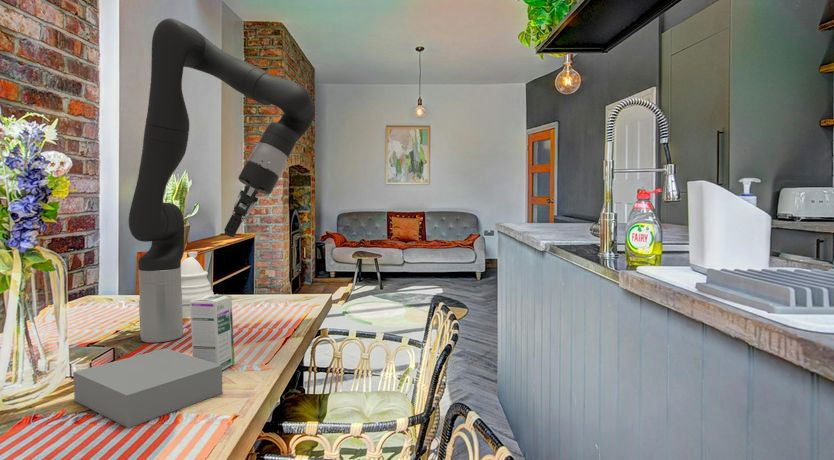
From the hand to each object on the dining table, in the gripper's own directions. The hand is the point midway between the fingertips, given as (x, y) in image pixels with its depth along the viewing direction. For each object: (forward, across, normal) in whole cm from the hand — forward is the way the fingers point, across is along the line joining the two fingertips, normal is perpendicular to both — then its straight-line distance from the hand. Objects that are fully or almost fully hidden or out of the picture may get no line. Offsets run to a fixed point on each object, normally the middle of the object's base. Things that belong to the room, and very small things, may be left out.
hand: (228, 234), depth 105 cm
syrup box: (+26, +2, +10) cm, 28 cm away
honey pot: (+23, -53, 0) cm, 58 cm away
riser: (+32, +14, +2) cm, 35 cm away
